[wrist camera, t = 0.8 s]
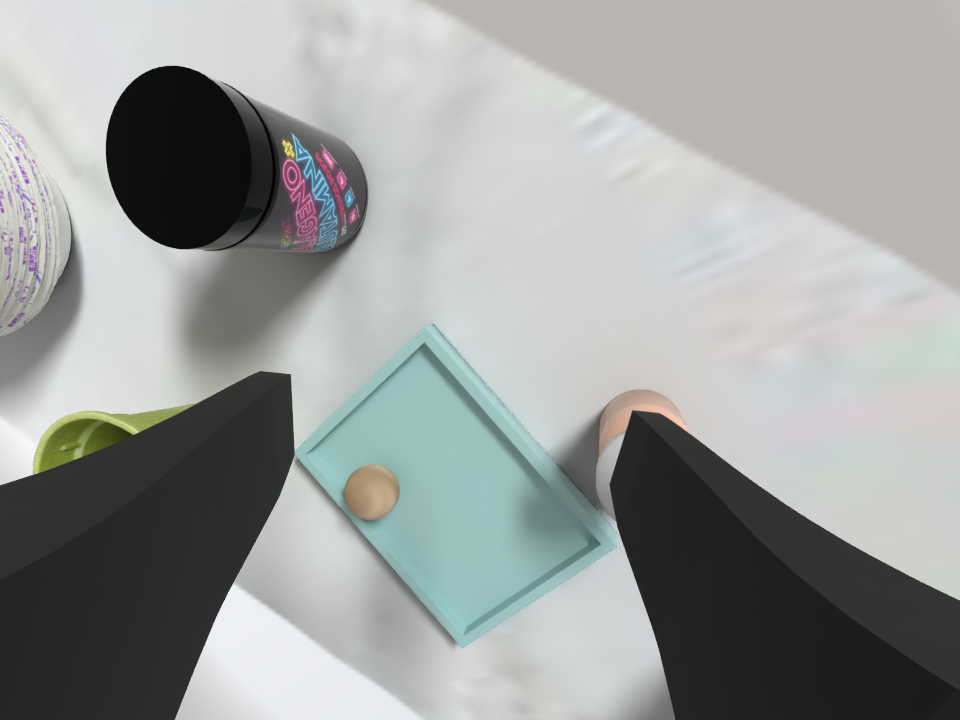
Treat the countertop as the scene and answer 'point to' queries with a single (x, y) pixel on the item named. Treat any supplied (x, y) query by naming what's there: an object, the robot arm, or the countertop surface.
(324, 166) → the supplement container
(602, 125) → the countertop surface
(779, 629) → the robot arm
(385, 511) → the ball
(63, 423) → the plant pot
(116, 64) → the countertop surface
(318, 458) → the tray
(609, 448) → the shaker
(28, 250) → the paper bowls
